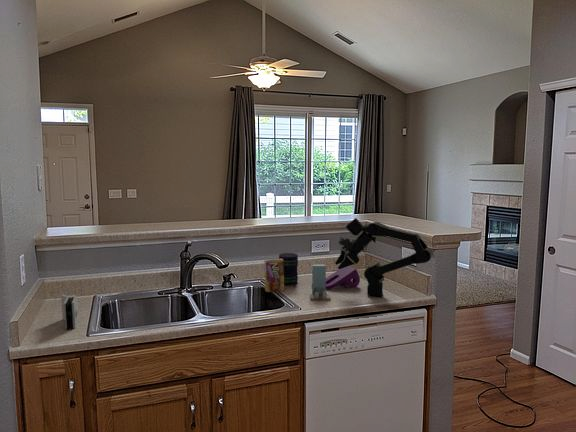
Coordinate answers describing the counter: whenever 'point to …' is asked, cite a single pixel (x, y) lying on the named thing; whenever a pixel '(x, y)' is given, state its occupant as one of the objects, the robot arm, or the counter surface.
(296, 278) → the storage jar
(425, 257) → the robot arm
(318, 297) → the brown base with posts
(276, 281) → the candy box
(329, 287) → the mounting bracket
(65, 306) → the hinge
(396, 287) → the counter surface
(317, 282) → the door
